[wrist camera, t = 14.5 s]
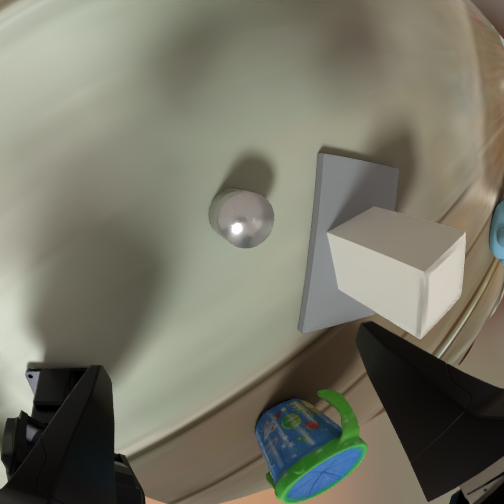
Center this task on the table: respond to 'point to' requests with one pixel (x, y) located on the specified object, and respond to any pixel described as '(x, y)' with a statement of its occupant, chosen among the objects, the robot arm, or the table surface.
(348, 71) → the table surface
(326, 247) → the mat
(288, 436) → the snack cup
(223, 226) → the silver metallic cylinder
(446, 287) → the cover
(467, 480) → the robot arm
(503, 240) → the teapot
